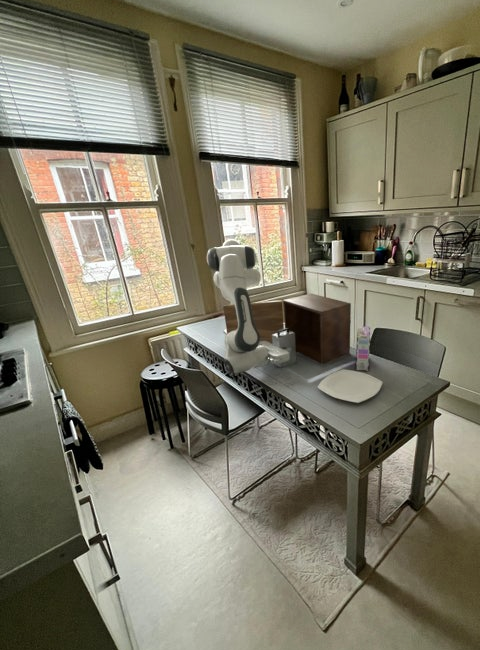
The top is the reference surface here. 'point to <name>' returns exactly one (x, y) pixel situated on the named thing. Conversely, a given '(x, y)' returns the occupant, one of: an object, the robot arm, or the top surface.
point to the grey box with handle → (285, 344)
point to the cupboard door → (259, 318)
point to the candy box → (363, 348)
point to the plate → (350, 386)
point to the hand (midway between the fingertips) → (285, 346)
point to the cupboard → (319, 326)
